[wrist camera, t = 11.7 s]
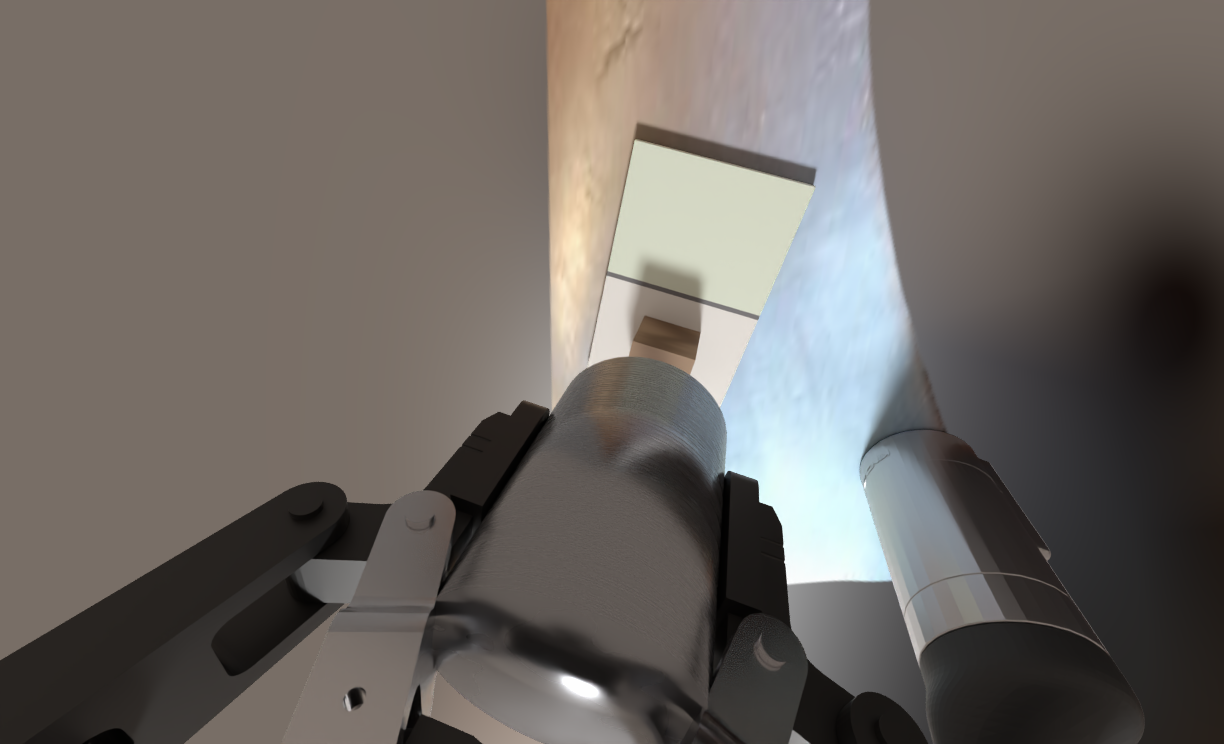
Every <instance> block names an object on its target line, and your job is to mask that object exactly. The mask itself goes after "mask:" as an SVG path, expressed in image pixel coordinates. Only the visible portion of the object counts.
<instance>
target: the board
mask: <svg viewBox="0 0 1224 744" xmlns="http://www.w3.org/2000/svg"><path fill="white" fill-rule="evenodd" d="M815 188H816V187H815V186H814V185H811V184H807V183H804V182H800V181H796V180H792V179H788V178H784V177H781V176H777V175H773V174H769V173H765V172H762V171H758V170H754V169H750V168H746V167H742V166H739V165H735V164H731V163H727V162H723V161H719V160H716V159H712V158H708V157H704V156H700V155H697V154H693V153H689V152H685V151H681V150H677V149H674V148H670V147H666V146H662V145H658V144H654V143H651V142H647V141H643V140H639V139H636V140H635V142H634V146H633V151H632V156H631V161H630V166H629V170H628V175H627V180H626V185H625V190H624V194H623V199H622V204H621V209H620V214H619V218H618V223H617V228H616V233H615V238H614V242H613V247H612V252H611V257H610V262H609V266H608V271H607V276H606V281H605V286H604V290H603V295H602V300H601V305H600V310H599V314H598V319H597V324H596V329H595V333H594V338H593V343H592V348H591V353H590V357H589V362H588V367H590V366H592V365H594V364H596V363H598V362H601V361H604V360H608V359H612V358H617V357H629V353H630V349H631V345H632V342H633V339H634V337H635V335H636V333H637V331H638V329H639V327H640V324H641V322H642V320H643V318H644V316H648V317H652V318H655V319H658V320H662V321H665V322H668V323H672V324H675V325H678V326H681V327H685V328H688V329H691V330H695V331H698V332H701V334H700V339H699V344H698V349H697V355H696V360H695V363H694V365H693V368H692V371H691V374H690V375H691V376H692V377H693V378H695V379H696V380H697V381H698V382H700V383H701V384H702V385H703V386H704V387H705V388H706V389H707V390H708V391H709V393H710V394H711V395H712V396H713V398H714V399H715V401H716V402H717V404H718V406H719V408H720V406H721V404H722V402H723V399H724V397H725V395H726V392H727V390H728V388H729V386H730V383H731V381H732V379H733V376H734V374H735V372H736V369H737V367H738V365H739V363H740V360H741V358H742V356H743V353H744V351H745V349H746V346H747V344H748V342H749V339H750V337H751V335H752V333H753V330H754V328H755V326H756V323H757V321H758V319H759V316H760V314H761V312H762V310H763V307H764V305H765V303H766V300H767V298H768V296H769V293H770V291H771V289H772V287H773V284H774V282H775V280H776V277H777V275H778V273H779V270H780V268H781V266H782V264H783V261H784V259H785V257H786V254H787V252H788V250H789V247H790V245H791V243H792V241H793V238H794V236H795V234H796V231H797V229H798V227H799V224H800V222H801V220H802V218H803V215H804V213H805V211H806V208H807V206H808V204H809V201H810V199H811V197H812V195H813V192H814V190H815ZM588 367H587V368H588Z"/></svg>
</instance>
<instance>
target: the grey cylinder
mask: <svg viewBox="0 0 1224 744" xmlns="http://www.w3.org/2000/svg"><path fill="white" fill-rule="evenodd" d="M726 441H727V431H726V424H725V420H724V417H723V414H722V412H721V410H720V408H719V406H718V404H717V402H716V401H715V399H714V398H713V396H712V395H711V394H710V393H709V391H708V390H707V389H706V388H705V387H704V386H703V385H702V384H701V383H700V382H698V381H697V380H696V379H695V378H693V377H692V376H691V375H689V374H688V373H686V372H685V371H683V370H681V369H679V368H677V367H675V366H673V365H670V364H667V363H665V362H662V361H658V360H654V359H650V358H643V357H617V358H612V359H608V360H604V361H601V362H598V363H596V364H594V365H592V366H590V367H588V368H586V369H585V370H584V371H582V372H581V373H580V374H578V375H577V376H576V378H575V379H574V380H573V381H572V382H571V383H570V385H569V386H568V388H567V389H566V391H565V392H564V394H563V396H562V397H561V399H560V400H559V402H558V403H557V405H556V407H555V408H554V410H553V411H552V413H551V414H550V416H549V417H548V419H547V421H546V422H545V424H544V425H543V427H542V428H541V430H540V432H539V433H538V435H537V436H536V438H535V439H534V441H533V442H532V444H531V446H530V447H529V449H528V450H527V452H526V453H525V455H524V457H523V458H522V460H521V461H520V463H519V464H518V466H517V468H516V469H515V471H514V472H513V474H512V475H511V477H510V478H509V480H508V482H507V483H506V485H505V486H504V488H503V489H502V491H501V493H500V494H499V496H498V497H497V499H496V500H495V502H494V503H493V505H492V507H491V508H490V510H489V511H488V513H487V514H486V516H485V518H484V519H483V521H482V522H481V524H480V525H479V527H478V528H477V530H476V532H475V533H474V535H473V536H472V538H471V539H470V541H469V543H468V544H467V546H466V547H465V549H464V550H463V552H462V554H461V555H460V557H459V558H458V560H457V561H456V563H455V564H454V566H453V568H452V569H451V571H450V572H449V574H448V575H447V577H446V579H445V580H444V582H443V584H442V586H441V588H440V590H439V593H438V596H437V598H436V600H435V601H436V619H435V624H434V631H433V640H432V646H433V657H434V658H437V671H438V672H439V673H440V674H441V675H442V676H443V678H444V679H445V680H446V681H447V682H448V683H449V684H450V685H451V686H452V687H453V688H454V689H455V690H456V691H457V692H458V693H460V694H461V695H462V696H463V697H464V698H466V699H467V700H468V701H469V702H471V703H472V704H473V705H475V706H476V707H478V708H479V709H480V710H482V711H483V712H485V713H486V714H488V715H489V716H491V717H492V718H494V719H496V720H497V721H499V722H501V723H503V724H504V725H506V726H508V727H510V728H512V729H514V730H515V731H517V732H519V733H521V734H523V735H525V736H528V737H530V738H532V739H534V740H537V741H539V742H541V743H544V744H680V742H681V741H682V739H683V738H684V736H685V734H686V732H687V731H688V729H689V727H690V725H691V723H692V721H693V719H694V718H695V717H696V715H697V714H698V713H699V712H700V710H701V709H702V708H705V709H707V708H708V694H709V691H710V687H711V684H712V678H713V666H714V649H715V631H716V614H717V597H718V580H719V562H720V545H721V528H722V510H723V493H724V476H725V459H726Z"/></svg>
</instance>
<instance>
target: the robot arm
mask: <svg viewBox="0 0 1224 744" xmlns="http://www.w3.org/2000/svg"><path fill="white" fill-rule="evenodd" d="M549 412H550V411H549V409H548V408H545V407H542V406H539V405H536V404H533V403H530V402H527V401H522V402H521V403H520V404H519V406H518V407H517V408H516V409H515V411H514V412H513V413H512V415H511V416H510V415H507V414H504V413H501V412H497V413H496V414H494V415H492V416H490V417H488V418H486V419H484V420H483V421H482V422H481V423H480V424H479V425H478V426H477V428H476V429H475V430H474V431H473V432H472V434H471V436H469V437H468V438H467V439H466V440H465V442H464V443H463V444H462V447H460V448H459V449H458V450H457V451H456V452H455V454H454V455H453V456H452V457H451V458H450V460H449V461H448V462H447V463H446V464H445V465H444V467H443V468H442V469H441V470H440V471H439V473H438V474H437V475H436V476H435V477H434V478H433V480H432V481H431V482H430V483H429V484H428V486H427V487H426V488H425V489H424V490H423V491H416V492H412V493H409V494H407V495H404V496H403V497H401V498H399V499H398V500H396V501H395V502H394V503H393V504H367V503H366V504H365V503H350V502H347V498H346V495H345V493H344V492H343V491H342V490H341V489H340V488H339V487H338V486H336V485H333V484H330V483H326V482H311V483H306V484H302V485H298V486H296V487H293V488H291V489H289V490H287V491H285V492H283V493H282V494H280V495H278V496H277V497H275V498H273V499H271V500H270V501H268V502H266V503H265V504H263V505H262V506H260V507H258V508H256V509H255V510H253V511H251V512H250V513H248V514H246V515H244V516H243V517H241V518H239V519H238V520H236V521H234V522H233V523H231V524H229V525H228V526H226V527H224V528H223V529H221V530H219V531H218V532H216V533H214V534H212V535H211V536H209V537H208V538H206V539H204V540H202V541H201V542H199V543H197V544H196V545H194V546H192V547H191V548H189V549H187V550H186V551H184V552H182V553H181V554H179V555H177V556H175V557H174V558H172V559H171V560H169V561H167V562H165V563H164V564H162V565H160V566H159V567H157V568H155V569H154V570H152V571H150V572H149V573H147V574H145V575H143V576H142V577H140V578H138V579H137V580H135V581H133V582H132V583H130V584H128V585H127V586H125V587H123V588H122V589H120V590H118V591H116V592H115V593H113V594H111V595H110V596H108V597H106V598H105V599H103V600H101V601H100V602H98V603H96V604H95V605H93V606H91V607H90V608H88V609H86V610H85V611H83V612H81V613H79V614H78V615H76V616H74V617H73V618H71V619H69V620H68V621H66V622H65V623H63V624H61V625H59V626H58V627H56V628H54V629H53V630H51V631H49V632H48V633H46V634H44V635H42V636H41V637H39V638H37V639H36V640H34V641H32V642H31V643H29V644H27V645H25V646H24V647H22V648H21V649H19V650H17V651H15V652H14V653H12V654H10V655H9V656H7V657H5V658H4V659H2V660H0V744H184V743H185V742H186V741H187V740H189V738H191V737H192V736H193V735H194V734H195V733H197V732H198V731H199V730H200V729H201V728H202V727H203V726H204V725H205V724H207V723H208V722H209V721H210V720H211V719H213V718H214V717H215V716H216V715H217V714H218V713H219V712H221V711H222V710H223V709H224V708H225V707H226V706H228V705H229V704H230V703H231V702H232V701H233V700H234V699H235V698H237V697H238V696H239V695H240V694H241V693H242V692H244V691H245V690H246V689H247V688H248V687H249V686H250V685H252V684H253V683H254V682H255V681H256V680H257V679H259V678H260V677H261V676H262V675H263V674H264V673H265V672H267V671H268V670H269V669H270V668H271V667H272V666H273V665H274V664H276V663H277V662H278V661H279V660H280V659H281V658H283V657H284V656H285V655H286V654H287V653H288V652H290V651H291V650H292V649H293V648H294V647H295V646H296V645H298V644H299V643H300V642H301V641H302V640H303V639H304V638H306V637H307V636H308V635H309V634H310V633H311V632H312V631H314V630H315V629H316V628H317V627H318V626H319V625H320V624H322V623H323V622H324V621H325V620H326V619H327V618H328V617H330V615H332V614H333V613H334V612H335V611H337V610H338V609H339V608H340V607H341V606H342V605H343V604H344V603H350V604H349V606H348V607H347V608H346V609H341V610H340V611H339V612H338V613H337V615H336V616H335V617H334V619H333V621H332V623H331V625H330V627H329V629H328V631H327V634H326V636H325V639H324V641H323V644H322V646H321V648H320V651H319V653H318V656H317V658H316V660H315V663H314V665H313V668H312V670H311V673H310V675H309V677H308V680H307V682H306V685H305V687H304V689H303V692H302V694H301V697H300V699H299V702H298V705H297V707H296V709H295V711H294V714H293V716H292V719H291V721H290V724H289V726H288V728H287V731H286V733H285V736H284V738H283V740H282V743H281V744H482V743H481V742H479V741H478V740H477V739H476V738H475V737H474V736H472V735H470V734H468V733H465V732H463V731H461V730H458V729H456V728H454V727H451V726H449V725H447V724H444V723H442V722H440V721H437V720H435V719H433V718H430V714H431V709H432V702H433V695H434V686H435V679H436V673H437V658H434V657H433V646H432V640H433V631H434V624H435V619H436V601H435V600H436V598H437V596H438V593H439V590H440V588H441V586H442V584H443V582H444V580H445V579H446V577H447V575H448V574H449V572H450V571H451V569H452V568H453V566H454V564H455V563H456V561H457V560H458V558H459V557H460V555H461V554H462V552H463V550H464V549H465V547H466V546H467V544H468V543H469V541H470V539H471V538H472V536H473V535H474V533H475V532H476V530H477V528H478V527H479V525H480V524H481V522H482V521H483V519H484V518H485V516H486V514H487V513H488V511H489V510H490V508H491V507H492V505H493V503H494V502H495V500H496V499H497V497H498V496H499V494H500V493H501V491H502V489H503V488H504V486H505V485H506V483H507V482H508V480H509V478H510V477H511V475H512V474H513V472H514V471H515V469H516V468H517V466H518V464H519V463H520V461H521V460H522V458H523V457H524V455H525V453H526V452H527V450H528V449H529V447H530V446H531V444H532V442H533V441H534V439H535V438H536V436H537V435H538V433H539V432H540V430H541V428H542V427H543V425H544V424H545V422H546V421H547V419H548V417H549ZM860 479H861V482H862V485H863V488H864V491H865V495H866V498H867V501H868V504H869V507H870V511H871V514H872V517H873V521H874V524H875V527H876V530H877V533H878V537H879V540H880V543H881V546H882V549H883V553H884V556H885V559H886V562H887V565H888V569H889V572H890V575H891V578H892V581H893V584H894V588H895V591H896V594H897V597H898V601H899V604H900V607H901V610H902V613H903V616H904V620H905V623H906V625H907V629H908V632H909V635H910V638H911V641H912V645H913V648H914V651H915V654H916V658H917V661H918V664H919V667H920V671H921V674H922V677H923V680H924V683H925V687H926V714H927V721H928V725H929V730H930V734H931V738H932V741H933V744H1137V743H1138V741H1139V740H1140V738H1141V737H1142V734H1143V731H1144V727H1145V726H1144V714H1143V711H1142V708H1141V705H1140V702H1139V700H1138V698H1137V697H1136V695H1135V693H1134V691H1133V690H1132V688H1131V686H1130V685H1129V683H1128V682H1127V680H1126V679H1125V677H1124V676H1123V674H1122V673H1121V671H1120V670H1119V668H1118V667H1117V665H1116V664H1115V662H1114V661H1113V659H1112V658H1111V657H1110V655H1109V653H1108V652H1107V650H1106V649H1105V647H1104V646H1103V644H1102V643H1101V642H1100V640H1099V638H1098V637H1097V635H1096V634H1095V632H1094V631H1093V629H1092V628H1091V626H1090V625H1089V623H1088V622H1087V621H1086V619H1085V617H1084V616H1083V614H1082V613H1081V611H1080V610H1079V608H1078V607H1077V605H1076V604H1075V603H1074V601H1073V600H1072V598H1071V597H1070V595H1069V594H1068V592H1067V591H1066V590H1065V588H1064V586H1063V585H1062V583H1061V582H1060V580H1059V579H1058V577H1057V576H1056V574H1055V573H1054V571H1053V570H1052V568H1051V567H1050V565H1049V564H1048V562H1047V561H1048V559H1049V558H1050V556H1051V553H1050V550H1049V548H1048V547H1047V545H1046V544H1045V542H1044V541H1043V540H1042V538H1041V537H1040V535H1039V534H1038V532H1037V531H1036V529H1035V528H1034V527H1033V525H1032V524H1031V522H1030V521H1029V519H1028V518H1027V517H1026V515H1025V513H1024V512H1023V511H1022V509H1021V508H1020V506H1019V505H1018V503H1017V502H1016V500H1015V499H1014V497H1013V496H1012V495H1011V493H1010V492H1009V490H1008V489H1007V487H1006V486H1005V485H1004V483H1003V481H1002V480H1001V479H1000V477H999V476H998V474H997V473H996V471H995V470H994V468H993V467H992V465H991V464H990V463H989V462H987V461H984V460H981V459H979V458H978V457H977V456H976V454H975V453H974V451H973V450H972V448H971V447H970V446H969V445H968V444H967V443H966V442H964V441H963V440H961V439H959V438H958V437H956V436H954V435H951V434H948V433H945V432H941V431H934V430H913V431H906V432H902V433H898V434H895V435H892V436H890V437H888V438H885V439H883V440H881V441H880V442H878V443H877V444H876V445H874V446H873V447H872V448H871V449H870V450H869V451H868V452H867V453H866V454H865V456H864V458H863V460H862V462H861V466H860ZM784 560H785V556H784V548H783V533H782V525H781V523H780V521H779V519H778V517H777V515H776V513H775V511H774V509H773V507H771V506H768V505H766V504H763V503H760V502H759V486H758V481H757V480H755V479H752V478H749V477H746V476H743V475H740V474H737V473H734V472H731V471H728V472H727V474H726V475H725V477H724V493H723V510H722V528H721V545H720V562H719V580H718V597H717V614H716V631H715V649H714V666H713V678H712V684H711V687H710V691H709V694H708V708H707V709H705V708H702V709H701V710H700V712H699V713H698V714H697V715H696V717H695V718H694V719H693V721H692V723H691V725H690V727H689V729H688V731H687V732H686V734H685V736H684V738H683V739H682V741H681V742H680V744H928V742H927V740H926V739H925V737H924V735H923V733H922V732H921V730H920V728H919V727H918V725H917V724H916V723H915V721H914V720H913V719H912V717H911V716H910V715H909V714H908V713H907V712H906V711H905V710H904V709H903V708H902V707H901V706H899V705H898V704H897V703H896V702H894V701H893V700H891V699H890V698H888V697H886V696H884V695H882V694H879V693H875V692H864V693H861V694H860V695H858V696H857V697H854V696H853V695H851V694H850V693H848V692H847V691H846V690H845V689H843V688H842V687H840V686H839V685H838V684H836V683H835V682H834V681H832V680H831V679H829V678H828V677H827V676H825V675H824V674H823V673H821V672H820V671H819V670H818V669H817V668H815V667H814V665H812V664H811V663H810V661H809V660H808V659H807V657H806V654H805V651H804V648H803V646H802V644H801V642H800V641H799V639H798V638H797V636H796V635H795V634H794V632H793V631H792V629H791V625H790V615H789V603H788V592H787V580H786V568H785V564H784Z"/></svg>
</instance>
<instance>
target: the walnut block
mask: <svg viewBox="0 0 1224 744" xmlns="http://www.w3.org/2000/svg"><path fill="white" fill-rule="evenodd" d="M700 334H701V332H698V331H695V330H691V329H688V328H685V327H681V326H678V325H675V324H672V323H668V322H665V321H662V320H658V319H655V318H652V317H648V316H644V318H643V320H642V322H641V324H640V327H639V329H638V331H637V333H636V335H635V337H634V339H633V342H632V345H631V349H630V353H629V357H643V358H650V359H654V360H658V361H662V362H665V363H667V364H670V365H673V366H675V367H677V368H679V369H681V370H683V371H685V372H686V373H688V374H689V375H690V374H691V371H692V368H693V365H694V363H695V360H696V355H697V349H698V344H699V339H700Z"/></svg>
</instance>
